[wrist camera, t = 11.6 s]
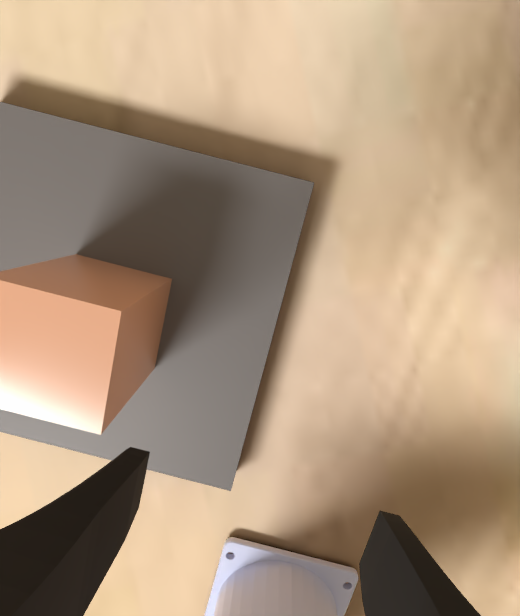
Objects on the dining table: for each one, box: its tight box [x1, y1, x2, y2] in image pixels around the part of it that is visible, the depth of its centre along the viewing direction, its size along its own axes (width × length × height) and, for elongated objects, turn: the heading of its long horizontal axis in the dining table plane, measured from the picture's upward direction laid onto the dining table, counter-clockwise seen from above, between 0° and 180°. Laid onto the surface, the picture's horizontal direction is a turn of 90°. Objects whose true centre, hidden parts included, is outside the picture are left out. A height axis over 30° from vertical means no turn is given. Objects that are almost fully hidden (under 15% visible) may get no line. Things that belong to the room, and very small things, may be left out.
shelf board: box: [0, 102, 314, 491], centre depth 20 cm, size 16×15×2 cm
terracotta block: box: [0, 254, 172, 435], centre depth 16 cm, size 5×5×6 cm
